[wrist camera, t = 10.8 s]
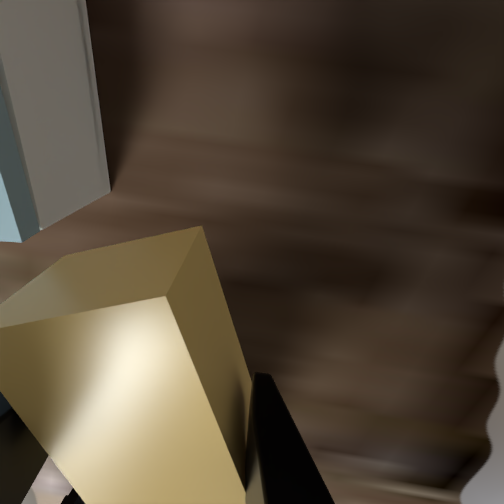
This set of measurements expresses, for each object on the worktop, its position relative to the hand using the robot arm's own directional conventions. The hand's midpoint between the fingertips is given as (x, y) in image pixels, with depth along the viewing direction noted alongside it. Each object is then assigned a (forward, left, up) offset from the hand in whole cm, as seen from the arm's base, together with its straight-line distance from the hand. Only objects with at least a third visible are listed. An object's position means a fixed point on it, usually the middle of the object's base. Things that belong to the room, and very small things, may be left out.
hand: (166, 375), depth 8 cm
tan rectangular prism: (0, 0, -1) cm, 1 cm away
